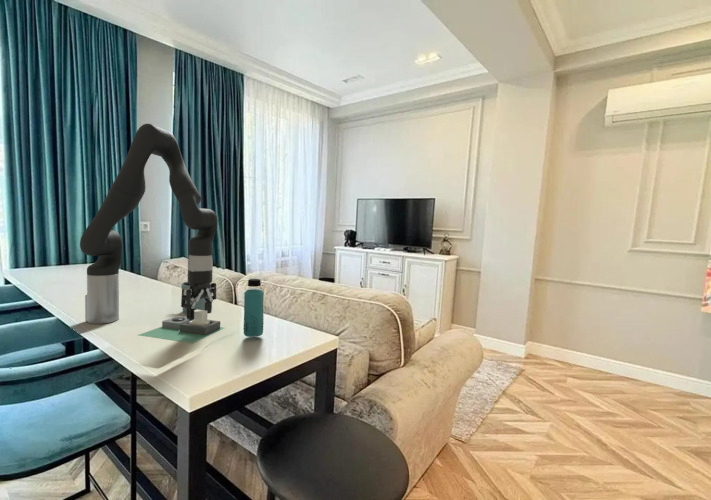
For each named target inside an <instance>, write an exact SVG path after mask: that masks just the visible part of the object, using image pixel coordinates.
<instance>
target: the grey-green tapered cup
mask: <svg viewBox="0 0 711 500" xmlns="http://www.w3.org/2000/svg"><path fill="white" fill-rule="evenodd" d="M180 285H181V290H182V289H189V288H190V284H189V283H188V281H184V282H182V283H181V284H180ZM192 299H194V298H193V297H192ZM186 303H187V301H186V300H185V304H186ZM191 304H192V302H191ZM191 304H190V305H191ZM197 309H198V310H205V300H204V299H203V298H202V299H200V300H199V301H198V302H197V303H196V304H195V307H194V310H197ZM182 313H183V314H185V315H187V309H186V308H183V307H182Z"/></svg>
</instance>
